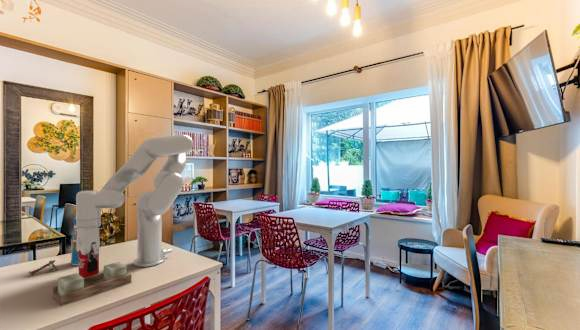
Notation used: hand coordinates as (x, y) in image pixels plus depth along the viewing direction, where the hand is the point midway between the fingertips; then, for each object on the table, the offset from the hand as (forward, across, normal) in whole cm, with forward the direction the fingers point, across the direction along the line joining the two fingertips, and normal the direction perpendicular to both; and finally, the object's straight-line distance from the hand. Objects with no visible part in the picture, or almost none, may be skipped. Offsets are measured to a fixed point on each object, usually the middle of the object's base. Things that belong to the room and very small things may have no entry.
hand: (88, 268), depth 101 cm
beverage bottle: (+3, -19, +4) cm, 20 cm away
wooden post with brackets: (+3, -18, -10) cm, 21 cm away
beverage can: (+3, 0, 0) cm, 3 cm away
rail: (+3, +13, -2) cm, 13 cm away
